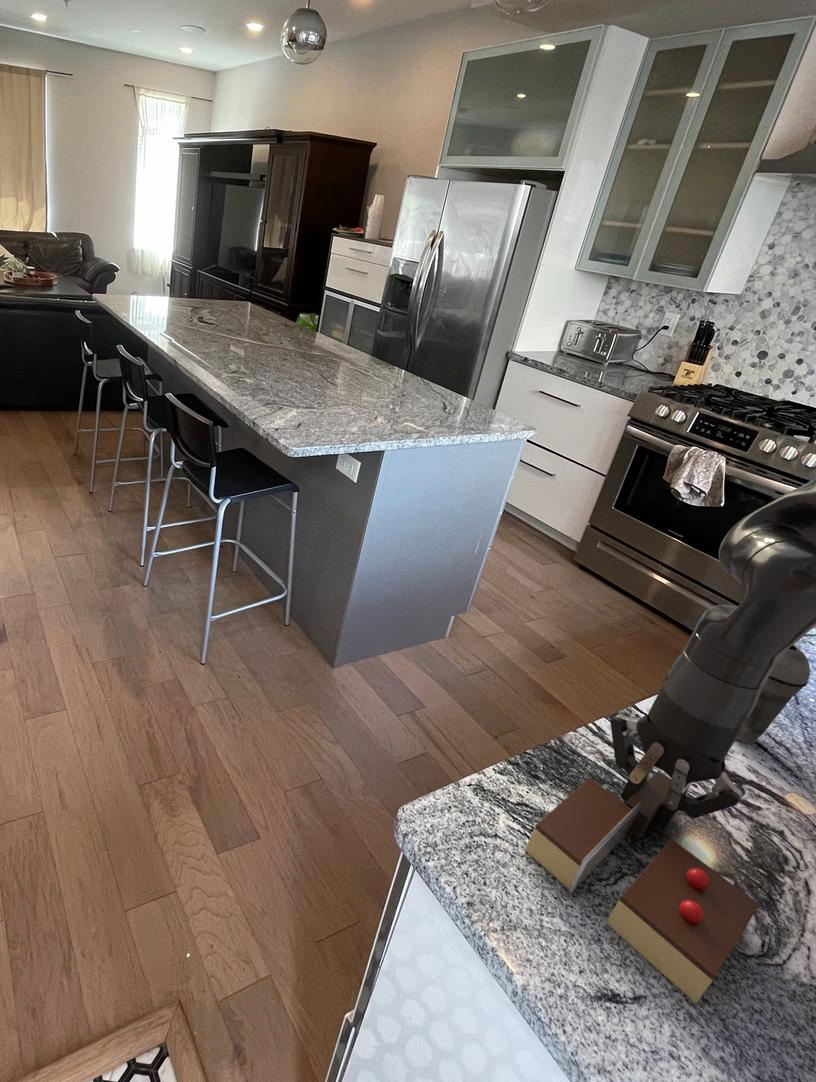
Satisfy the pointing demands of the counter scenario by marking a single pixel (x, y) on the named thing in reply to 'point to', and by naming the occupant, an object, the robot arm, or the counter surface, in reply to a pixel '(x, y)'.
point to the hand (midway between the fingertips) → (642, 813)
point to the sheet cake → (682, 918)
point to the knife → (628, 823)
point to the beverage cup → (776, 693)
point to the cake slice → (575, 829)
